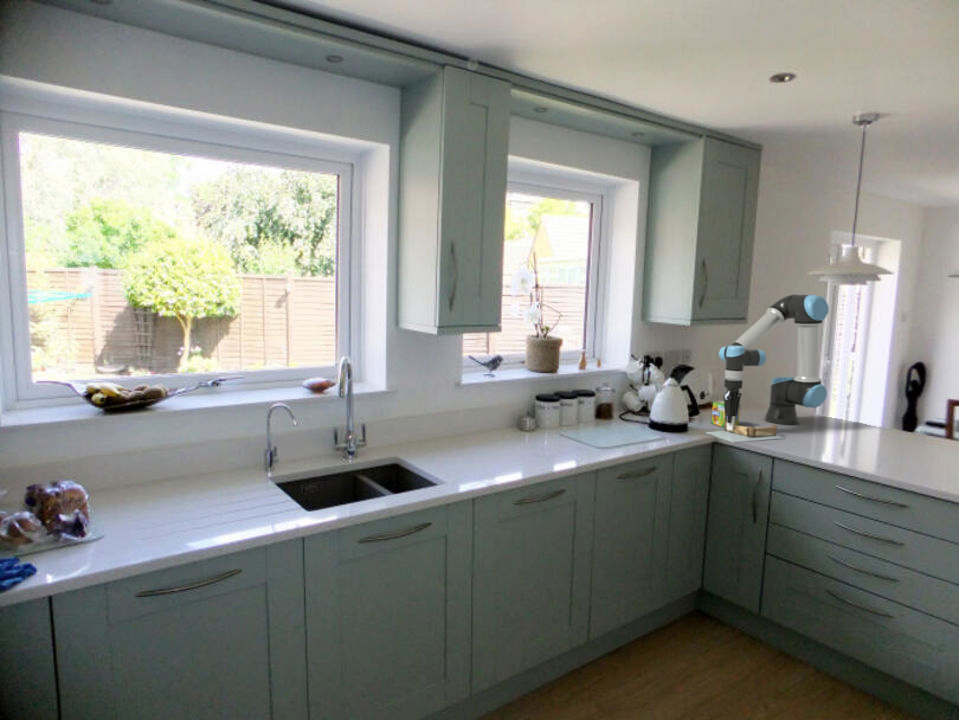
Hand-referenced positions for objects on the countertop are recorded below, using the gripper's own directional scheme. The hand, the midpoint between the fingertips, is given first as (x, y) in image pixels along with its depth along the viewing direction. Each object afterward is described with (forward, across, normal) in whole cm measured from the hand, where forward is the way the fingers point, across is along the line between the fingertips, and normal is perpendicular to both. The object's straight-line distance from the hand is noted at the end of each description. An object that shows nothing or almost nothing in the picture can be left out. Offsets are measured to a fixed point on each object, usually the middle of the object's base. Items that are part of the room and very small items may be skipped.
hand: (730, 429), depth 271 cm
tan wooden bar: (+1, -1, +2) cm, 3 cm away
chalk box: (+2, -15, -10) cm, 18 cm away
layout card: (+2, -2, +6) cm, 7 cm away
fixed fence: (+1, -6, +12) cm, 14 cm away
